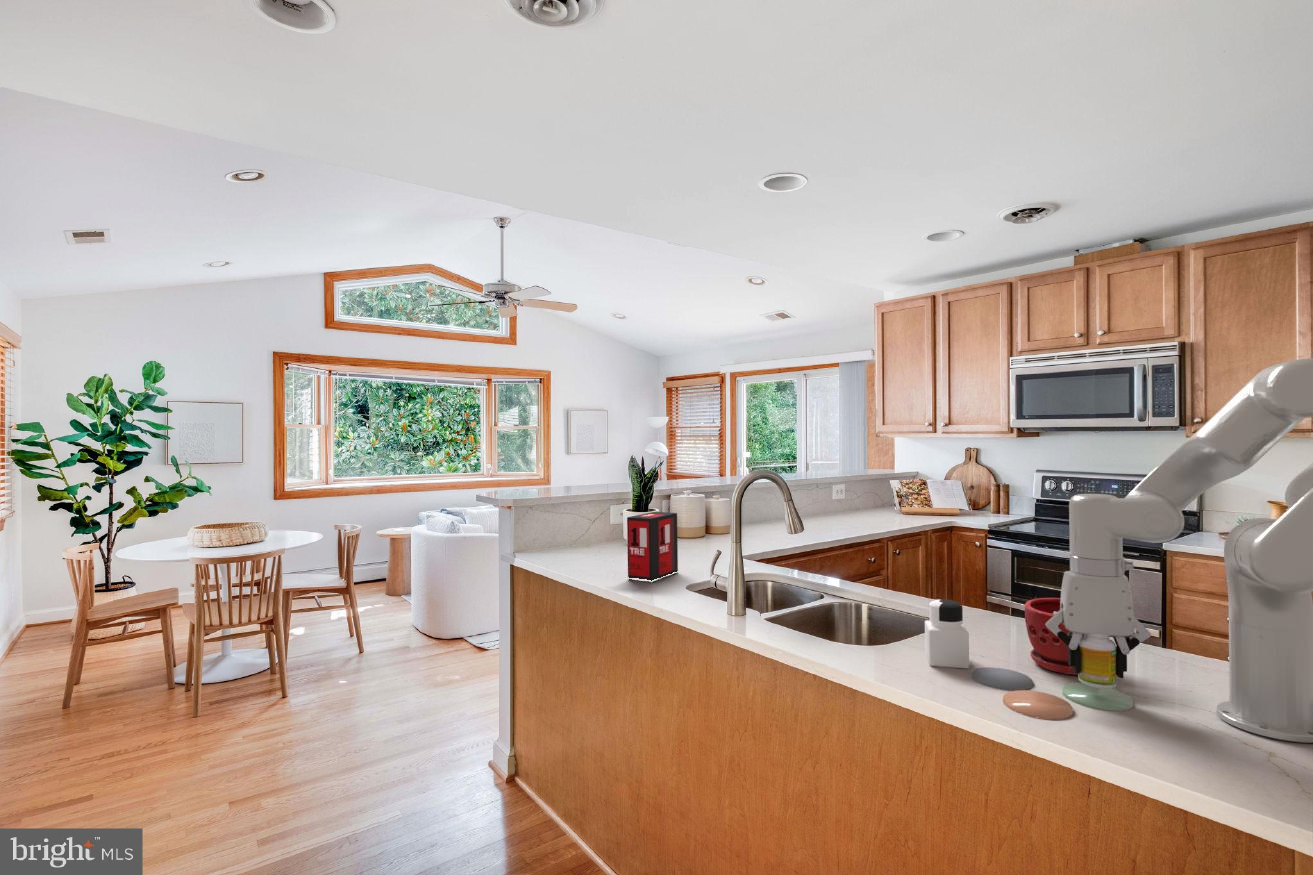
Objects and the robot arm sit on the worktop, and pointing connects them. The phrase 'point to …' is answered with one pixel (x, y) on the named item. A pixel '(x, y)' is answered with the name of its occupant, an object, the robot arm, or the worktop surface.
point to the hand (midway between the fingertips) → (1097, 671)
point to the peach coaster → (1038, 704)
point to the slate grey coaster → (1002, 678)
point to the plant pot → (1046, 636)
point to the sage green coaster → (1097, 697)
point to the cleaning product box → (652, 545)
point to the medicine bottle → (946, 635)
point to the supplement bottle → (1097, 661)
